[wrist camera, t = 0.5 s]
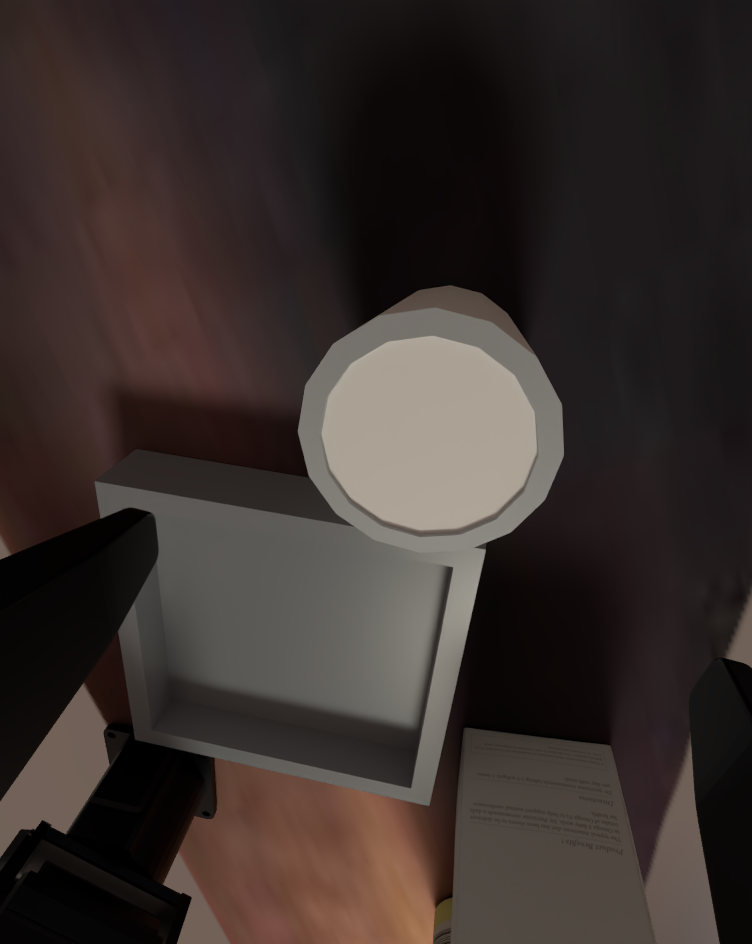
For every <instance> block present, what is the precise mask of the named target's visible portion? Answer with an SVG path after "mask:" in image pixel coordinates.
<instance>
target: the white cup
mask: <svg viewBox="0 0 752 944" xmlns="http://www.w3.org/2000/svg"><path fill="white" fill-rule="evenodd" d="M298 434H299V438H300V442H301V446H302V450H303V454H304V458H305V462H306V466H307V470H308V474H309V477H310V478H311V480H312V481H313V483H314V484H315V485H316V487H317V488H318V490H319V491H320V492H321V494H322V495H323V496H324V498H325V499H326V501H327V502H328V503H329V505H330V506H331V508H332V509H333V510H334V512H335V513H336V514H337V515H339V516H340V517H341V518H343V519H344V520H346V521H347V522H349V523H350V524H352V525H353V526H355V527H356V528H357V529H359V530H360V531H362V532H363V533H365V534H366V535H368V536H369V537H370V538H372V539H373V540H376V541H379V542H383V543H386V544H390V545H394V546H397V547H401V548H404V549H408V550H411V551H415V552H418V553H426V552H447V551H467V550H469V549H472V548H474V547H477V546H479V545H481V544H484V543H486V542H489V541H491V540H494V539H496V538H499V537H501V536H503V535H506V534H508V533H511V532H512V531H513V530H514V529H515V528H516V527H517V526H518V525H519V524H520V523H521V522H522V521H523V520H524V519H525V518H526V517H527V516H529V515H530V514H531V513H532V512H533V511H534V510H535V509H536V508H537V507H538V506H539V505H540V504H541V503H542V502H543V501H544V500H545V499H546V496H547V494H548V492H549V489H550V487H551V485H552V482H553V480H554V477H555V475H556V473H557V470H558V468H559V466H560V463H561V461H562V459H563V456H564V446H563V421H562V404H561V402H560V400H559V398H558V397H557V395H556V393H555V391H554V389H553V387H552V385H551V383H550V381H549V379H548V378H547V376H546V374H545V372H544V370H543V368H542V366H541V364H540V362H539V360H538V358H537V357H536V355H535V354H534V352H533V351H532V349H531V348H530V346H529V345H528V343H527V342H526V340H525V339H524V337H523V336H522V334H521V333H520V331H519V330H518V328H517V327H516V325H515V324H514V322H513V321H512V319H511V318H510V316H509V315H508V313H506V312H505V311H504V310H503V309H501V308H500V307H499V306H497V305H496V304H495V303H494V302H492V301H491V300H490V299H489V298H487V297H486V296H485V295H483V294H482V293H479V292H475V291H471V290H467V289H463V288H459V287H455V286H451V285H449V286H443V287H436V288H430V289H423V290H418V291H417V292H415V293H413V294H412V295H410V296H409V297H407V298H405V299H404V300H402V301H400V302H399V303H397V304H396V305H394V306H392V307H391V308H389V309H388V310H386V311H384V312H383V313H381V314H380V315H378V316H377V317H375V318H373V319H372V320H370V321H369V322H367V323H365V324H364V325H362V326H361V327H359V328H358V329H356V330H354V331H353V332H351V333H350V334H348V335H346V336H345V337H343V338H342V339H340V340H339V341H337V342H335V343H334V344H333V345H332V347H331V348H330V349H329V351H328V352H327V354H326V355H325V357H324V358H323V360H322V361H321V363H320V364H319V366H318V367H317V369H316V370H315V372H314V373H313V375H312V376H311V378H310V379H309V381H308V382H307V384H306V385H305V391H304V397H303V403H302V409H301V415H300V421H299V428H298Z"/></svg>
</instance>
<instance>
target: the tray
mask: <svg viewBox="0 0 752 944" xmlns="http://www.w3.org/2000/svg"><path fill="white" fill-rule="evenodd" d="M95 487H96V493H97V500H98V506H99V513H100V519H101V518H103V517H106V516H108V515H110V514H113V513H115V512H118V511H120V510H123V509H125V508H129V507H132V508H137V509H141V510H145V511H149V512H151V513H153V515H154V516H155V519H156V526H157V535H158V544H159V555H158V559H157V561H156V564H155V566H154V567H153V569H152V571H151V573H150V575H149V576H148V578H147V580H146V582H145V584H144V585H143V587H142V589H141V591H140V593H139V595H138V596H137V598H136V600H135V602H134V604H133V605H132V607H131V609H130V611H129V613H128V614H127V616H126V618H125V620H124V622H123V624H122V625H121V627H120V629H119V631H118V634H119V640H120V646H121V653H122V659H123V665H124V672H125V678H126V685H127V691H128V697H129V704H130V710H131V716H132V723H133V729H134V736H135V740H139V741H143V742H147V743H152V744H156V745H161V746H165V747H170V748H174V749H178V750H183V751H187V752H192V753H196V754H200V755H205V756H209V757H214V758H218V759H223V760H227V761H231V762H236V763H240V764H245V765H249V766H254V767H258V768H262V769H267V770H271V771H276V772H280V773H284V774H289V775H293V776H298V777H302V778H307V779H311V780H315V781H320V782H324V783H329V784H333V785H338V786H342V787H346V788H351V789H355V790H360V791H364V792H368V793H373V794H377V795H382V796H386V797H391V798H395V799H399V800H404V801H408V802H413V803H417V804H422V805H426V806H429V805H430V800H431V796H432V791H433V787H434V782H435V778H436V773H437V769H438V764H439V760H440V755H441V751H442V746H443V742H444V737H445V733H446V728H447V724H448V719H449V714H450V710H451V705H452V701H453V696H454V692H455V687H456V683H457V678H458V674H459V669H460V665H461V660H462V656H463V651H464V647H465V642H466V638H467V633H468V629H469V624H470V619H471V615H472V610H473V606H474V601H475V597H476V592H477V588H478V583H479V579H480V574H481V570H482V565H483V561H484V556H485V552H486V543H484V544H481V545H479V546H477V547H474V548H472V549H469V550H467V551H447V552H426V553H418V552H415V551H411V550H408V549H404V548H401V547H397V546H394V545H390V544H386V543H383V542H379V541H376V540H373V539H372V538H370V537H369V536H368V535H366V534H365V533H363V532H362V531H360V530H359V529H357V528H356V527H355V526H353V525H352V524H350V523H349V522H347V521H346V520H344V519H343V518H341V517H340V516H339V515H337V514H336V513H335V512H334V510H333V509H332V508H331V506H330V505H329V503H328V502H327V501H326V499H325V498H324V496H323V495H322V494H321V492H320V491H319V490H318V488H317V487H316V485H315V484H314V483H313V481H312V480H311V478H308V477H302V476H296V475H290V474H284V473H278V472H272V471H266V470H260V469H254V468H248V467H242V466H236V465H230V464H224V463H218V462H212V461H206V460H200V459H194V458H188V457H182V456H176V455H170V454H164V453H158V452H152V451H146V450H140V449H136V450H134V451H133V452H132V453H130V454H129V455H128V456H127V457H125V458H124V459H123V460H121V461H120V462H119V463H117V464H116V465H115V466H114V467H112V468H111V469H110V470H108V471H107V472H106V473H105V474H103V475H102V476H101V477H99V478H98V479H97V480H96V481H95Z"/></svg>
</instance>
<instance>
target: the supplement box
mask: <svg viewBox="0 0 752 944" xmlns="http://www.w3.org/2000/svg"><path fill="white" fill-rule="evenodd" d="M450 944H656V939H655V935H654V930H653V926H652V921H651V917H650V912H649V908H648V903H647V898H646V894H645V890H644V886H643V881H642V877H641V872H640V868H639V863H638V859H637V854H636V850H635V846H634V841H633V837H632V832H631V828H630V824H629V819H628V815H627V811H626V807H625V803H624V799H623V795H622V791H621V787H620V783H619V778H618V774H617V769H616V765H615V761H614V758H613V754H612V750H611V747H610V746H609V745H604V744H594V743H586V742H577V741H569V740H561V739H553V738H545V737H537V736H529V735H521V734H513V733H505V732H497V731H490V730H481V729H473V728H464V731H463V740H462V750H461V760H460V770H459V781H458V793H457V808H456V826H455V852H454V878H453V899H452V921H451V942H450Z"/></svg>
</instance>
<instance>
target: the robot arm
mask: <svg viewBox="0 0 752 944" xmlns="http://www.w3.org/2000/svg"><path fill="white" fill-rule="evenodd" d="M158 555H159V544H158V535H157V526H156V519H155V516H154V515H153V513H151V512H149V511H145V510H141V509H137V508H132V507H129V508H125V509H123V510H120V511H118V512H115V513H113V514H110V515H108V516H106V517H103V518H101V519H98V520H96V521H93V522H91V523H88V524H86V525H84V526H81V527H79V528H76V529H74V530H71V531H69V532H67V533H64V534H62V535H59V536H57V537H54V538H52V539H49V540H47V541H45V542H42V543H40V544H37V545H35V546H32V547H30V548H27V549H25V550H23V551H20V552H18V553H15V554H13V555H10V556H8V557H5V558H3V559H1V560H0V801H1V800H2V798H3V797H4V795H5V794H6V792H7V791H8V790H9V788H10V787H11V785H12V784H13V782H14V781H15V780H16V778H17V777H18V775H19V774H20V772H21V771H22V770H23V768H24V767H25V765H26V764H27V762H28V761H29V759H30V758H31V757H32V755H33V754H34V752H35V751H36V750H37V748H38V747H39V745H40V744H41V742H42V741H43V740H44V738H45V737H46V735H47V734H48V732H49V731H50V730H51V728H52V727H53V725H54V724H55V723H56V721H57V720H58V718H59V717H60V715H61V714H62V713H63V711H64V710H65V708H66V707H67V705H68V704H69V703H70V701H71V700H72V698H73V697H74V695H75V694H76V693H77V691H78V690H79V688H80V687H81V685H82V684H83V683H84V681H85V680H86V678H87V677H88V675H89V674H90V673H91V671H92V670H93V668H94V667H95V665H96V664H97V663H98V661H99V660H100V658H101V657H102V655H103V654H104V653H105V651H106V650H107V648H108V647H109V645H110V644H111V642H112V641H113V639H114V637H115V636H116V634H117V632H118V631H119V629H120V627H121V625H122V624H123V622H124V620H125V618H126V616H127V614H128V613H129V611H130V609H131V607H132V605H133V604H134V602H135V600H136V598H137V596H138V595H139V593H140V591H141V589H142V587H143V585H144V584H145V582H146V580H147V578H148V576H149V575H150V573H151V571H152V569H153V567H154V566H155V564H156V561H157V559H158ZM689 714H690V730H691V746H692V761H693V777H694V791H695V802H696V810H697V817H698V824H699V829H700V835H701V841H702V846H703V852H704V858H705V863H706V869H707V874H708V880H709V886H710V891H711V897H712V903H713V908H714V914H715V919H716V925H717V930H718V937H719V942H720V944H752V668H751V667H750V666H748V665H747V664H744V663H741V662H737V661H733V660H730V659H726V658H716V659H715V660H713V661H712V662H711V663H710V665H709V666H708V668H707V669H706V671H705V672H704V674H703V675H702V676H701V678H700V679H699V681H698V682H697V684H696V685H695V687H694V688H693V690H692V692H691V695H690V699H689ZM104 738H105V743H106V748H107V753H108V759H109V764H110V766H109V767H108V769H107V770H106V772H105V774H104V775H103V777H102V778H101V780H100V781H99V783H98V784H97V786H96V788H95V789H94V791H93V792H92V794H91V795H90V797H89V799H88V800H87V802H86V803H85V805H84V806H83V808H82V809H81V811H80V812H79V814H78V816H77V817H76V819H75V821H74V822H73V823H72V825H71V826H70V828H69V830H68V831H67V833H66V834H64V833H61V832H60V831H58V830H56V829H54V828H52V827H51V824H49V823H47V822H45V821H43V820H42V821H41V823H40V824H39V826H38V827H37V828H36V830H34V829H32V830H24V829H21V830H20V831H19V833H18V834H17V835H16V837H15V838H14V840H13V841H12V842H11V844H10V845H9V847H8V848H7V849H6V851H5V852H4V854H3V855H2V856H1V858H0V944H177V941H178V938H179V935H180V932H181V929H182V926H183V923H184V920H185V917H186V914H187V911H188V908H189V905H190V901H191V899H192V898H191V897H190V896H188V895H186V894H184V893H182V894H180V893H178V892H176V891H174V890H172V889H170V888H168V887H166V886H164V885H163V883H164V881H165V879H166V877H167V874H168V872H169V870H170V868H171V866H172V863H173V861H174V859H175V857H176V855H177V853H178V851H179V848H180V846H181V844H182V842H183V840H184V837H185V835H186V833H187V831H188V829H189V827H190V824H191V822H192V820H193V818H194V816H197V817H201V818H205V819H212V818H214V815H215V813H216V810H217V807H216V791H215V775H214V759H213V757H209V756H205V755H200V754H196V753H192V752H187V751H183V750H178V749H174V748H170V747H165V746H161V745H156V744H152V743H147V742H143V741H139V740H135V736H134V729H133V728H132V727H127V726H123V725H118V724H112V723H111V724H109V725H108V726H107V727H106V729H105V730H104ZM20 876H21V877H20Z"/></svg>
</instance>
